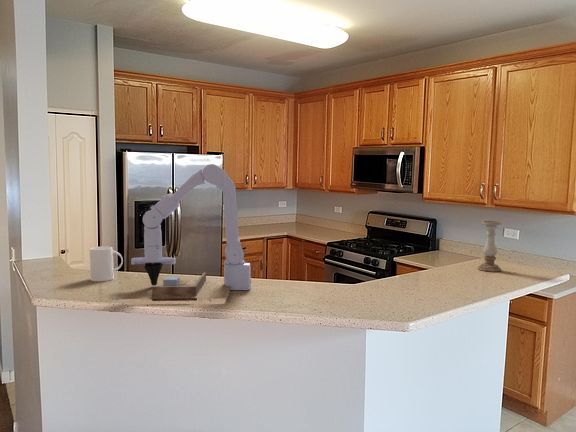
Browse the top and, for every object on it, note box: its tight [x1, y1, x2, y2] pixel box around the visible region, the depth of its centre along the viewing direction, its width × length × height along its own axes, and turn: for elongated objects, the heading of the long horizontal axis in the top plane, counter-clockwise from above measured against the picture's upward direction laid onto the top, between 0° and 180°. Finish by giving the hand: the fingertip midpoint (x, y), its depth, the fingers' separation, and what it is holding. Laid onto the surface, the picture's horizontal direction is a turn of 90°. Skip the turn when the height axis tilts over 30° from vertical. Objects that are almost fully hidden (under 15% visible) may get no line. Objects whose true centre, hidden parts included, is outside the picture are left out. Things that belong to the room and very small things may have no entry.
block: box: [162, 276, 181, 286], centre depth 154 cm, size 4×4×3 cm
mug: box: [89, 245, 124, 282], centre depth 172 cm, size 12×8×12 cm
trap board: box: [151, 271, 207, 302], centre depth 153 cm, size 14×21×4 cm, turn 2°
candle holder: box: [477, 220, 502, 273], centre depth 188 cm, size 9×9×20 cm
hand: (154, 284), depth 154 cm, fingers closed
